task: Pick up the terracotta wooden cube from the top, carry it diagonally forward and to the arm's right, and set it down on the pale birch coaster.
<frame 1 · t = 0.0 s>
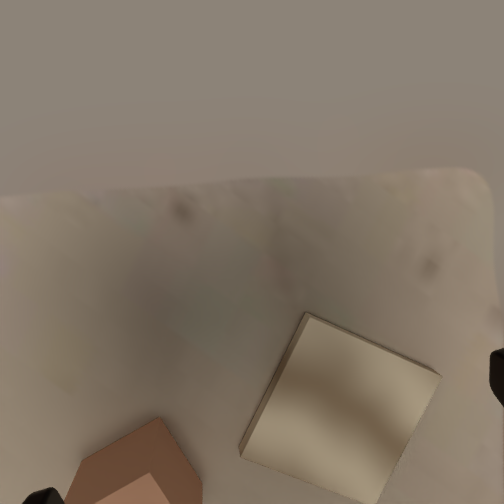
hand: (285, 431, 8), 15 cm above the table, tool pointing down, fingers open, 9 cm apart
cube: (143, 471, 25), on the table
coaster: (337, 407, 25), on the table
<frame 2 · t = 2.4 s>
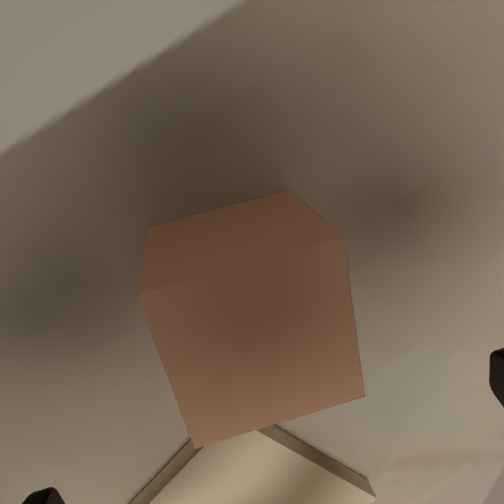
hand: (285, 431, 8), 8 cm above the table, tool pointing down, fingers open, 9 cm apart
cube: (236, 271, 15), on the table
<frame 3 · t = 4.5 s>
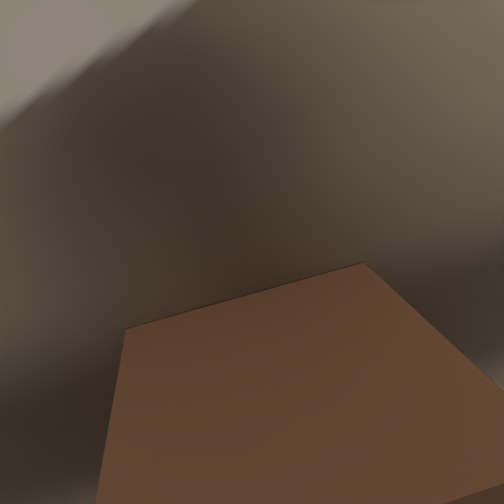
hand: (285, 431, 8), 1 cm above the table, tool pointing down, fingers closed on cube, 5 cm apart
cube: (271, 389, 10), on the table, touching gripper
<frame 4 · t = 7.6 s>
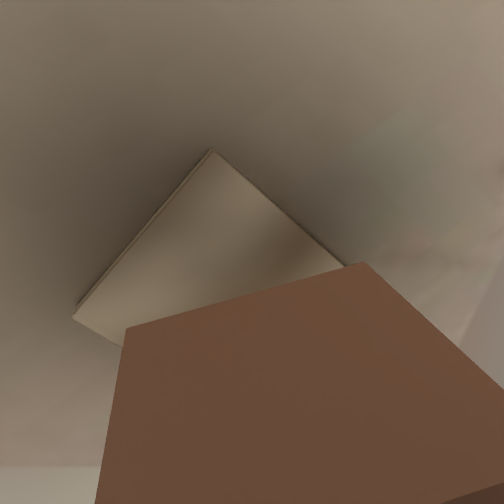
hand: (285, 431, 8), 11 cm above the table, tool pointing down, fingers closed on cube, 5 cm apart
cube: (271, 388, 10), point 10 cm above the table, touching gripper
coaster: (221, 289, 19), on the table
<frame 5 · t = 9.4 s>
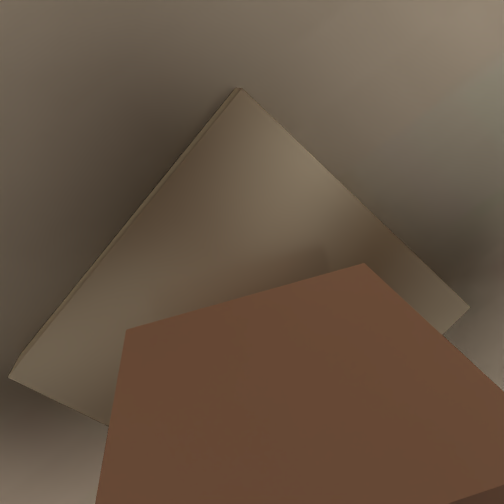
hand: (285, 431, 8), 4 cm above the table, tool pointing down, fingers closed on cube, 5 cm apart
cube: (271, 389, 10), point 3 cm above the table, touching gripper
coaster: (251, 320, 12), on the table
when the fingers open (3 cm above the table, at t = 10.8 s): cube stays where it is, resting on coaster.
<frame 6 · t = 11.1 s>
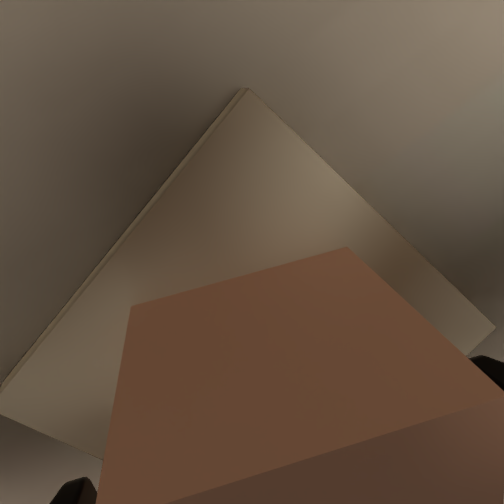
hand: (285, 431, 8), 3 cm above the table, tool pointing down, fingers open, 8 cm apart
cube: (263, 364, 10), point 1 cm above the table, touching coaster
coaster: (256, 341, 11), on the table
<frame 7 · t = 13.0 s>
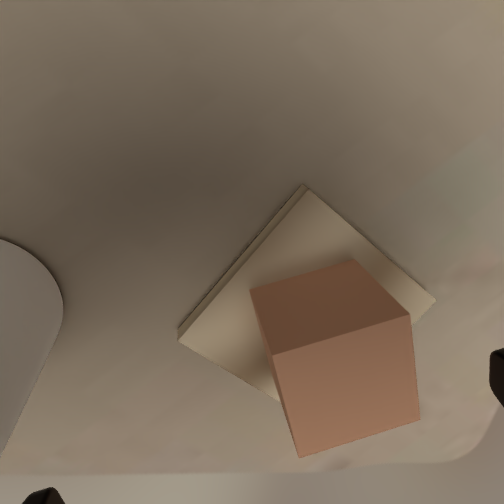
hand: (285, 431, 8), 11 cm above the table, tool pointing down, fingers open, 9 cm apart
cube: (311, 319, 20), point 1 cm above the table, touching coaster
coaster: (306, 309, 21), on the table
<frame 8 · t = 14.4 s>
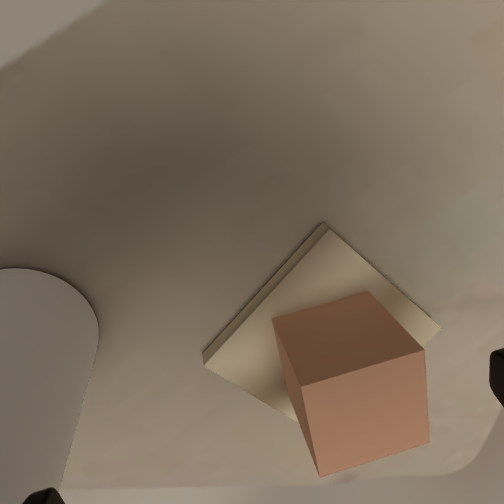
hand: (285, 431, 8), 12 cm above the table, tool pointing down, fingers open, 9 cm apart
can: (28, 326, 20), on the table
cube: (327, 346, 22), point 1 cm above the table, touching coaster
coaster: (321, 335, 22), on the table
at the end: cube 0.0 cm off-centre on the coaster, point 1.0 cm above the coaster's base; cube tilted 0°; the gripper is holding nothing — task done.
